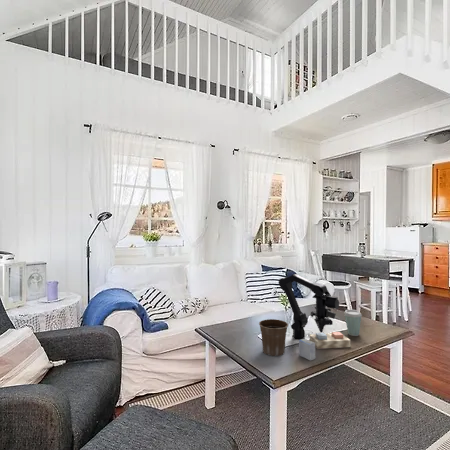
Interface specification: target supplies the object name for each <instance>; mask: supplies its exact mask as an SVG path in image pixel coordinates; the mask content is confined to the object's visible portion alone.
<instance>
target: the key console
mask: <svg viewBox="0 0 450 450" xmlns="http://www.w3.org/2000/svg"><path fill="white" fill-rule="evenodd" d="M325 334H326V335H327V339H321V340H319V339H318V338H316V333H314V334H313V333H312V334H309V341H312V342H314V343H315V349H317V350H319V349H338V348H339V349H340V348H351V339H350V338H348V337H347V336H345V334H343V338H340V339H335V338H334V337H332V332H331V333H325Z"/></svg>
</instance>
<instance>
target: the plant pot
mask: <svg viewBox="0 0 450 450" xmlns="http://www.w3.org/2000/svg"><path fill="white" fill-rule="evenodd" d="M258 325H259V329H260V333H261V345H262V351H263V352H262V353H264V354H265V355H268V356H270V357H279V356H283V355H284V354H285V351H286V350H285V348H286V337H287V332H288V327H289V323H288V322H286V321H284V320H280V319H274V318H272V319H271V318H270V319H269V318H268V319H263V320H260V321H259V323H258Z"/></svg>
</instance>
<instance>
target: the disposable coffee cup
mask: <svg viewBox="0 0 450 450" xmlns="http://www.w3.org/2000/svg"><path fill="white" fill-rule="evenodd" d="M343 315H344V319H345V325H346V329H347V333H348V335H349V336H353V337H358V336H359V334H360V329H361V321H362V316H363V315H362V313H361V312H360V311H359V310H356V309H345V311H344V312H343Z"/></svg>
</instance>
